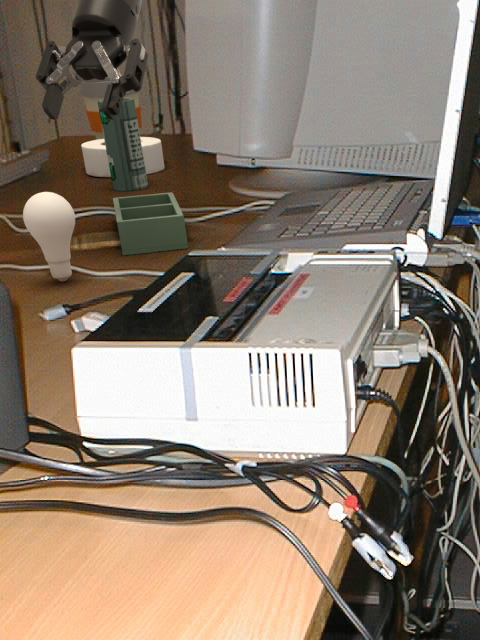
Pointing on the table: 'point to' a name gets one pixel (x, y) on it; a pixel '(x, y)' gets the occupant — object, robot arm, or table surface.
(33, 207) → the lightbulb
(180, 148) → the table surface
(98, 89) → the reusable coffee cup
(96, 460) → the table surface
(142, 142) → the tape roll
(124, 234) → the rack
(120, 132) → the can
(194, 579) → the table surface
